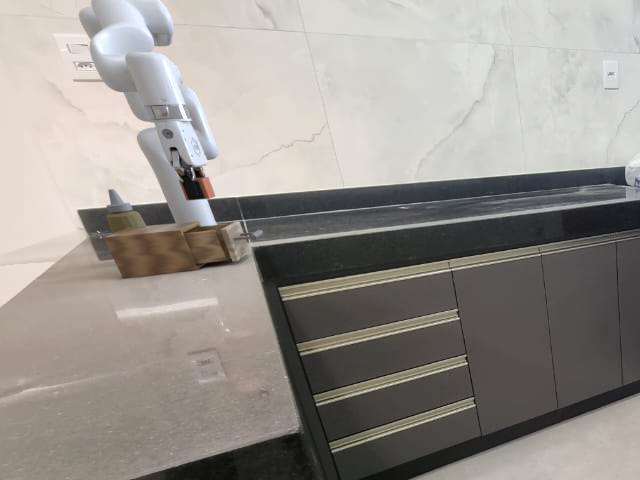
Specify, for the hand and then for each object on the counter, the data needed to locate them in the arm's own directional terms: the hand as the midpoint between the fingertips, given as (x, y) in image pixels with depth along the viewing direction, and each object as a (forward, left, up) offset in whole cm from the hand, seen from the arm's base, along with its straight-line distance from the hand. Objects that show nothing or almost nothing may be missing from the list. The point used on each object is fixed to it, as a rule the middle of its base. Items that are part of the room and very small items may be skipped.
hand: (200, 197), depth 128 cm
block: (0, 0, 0) cm, 0 cm away
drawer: (0, 0, -15) cm, 15 cm away
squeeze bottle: (-15, -23, -16) cm, 32 cm away
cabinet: (0, -12, -16) cm, 20 cm away
